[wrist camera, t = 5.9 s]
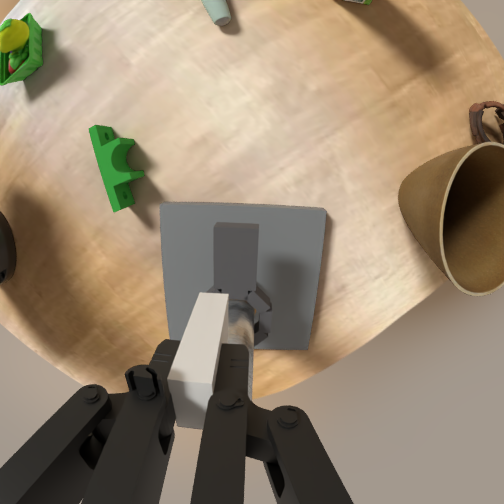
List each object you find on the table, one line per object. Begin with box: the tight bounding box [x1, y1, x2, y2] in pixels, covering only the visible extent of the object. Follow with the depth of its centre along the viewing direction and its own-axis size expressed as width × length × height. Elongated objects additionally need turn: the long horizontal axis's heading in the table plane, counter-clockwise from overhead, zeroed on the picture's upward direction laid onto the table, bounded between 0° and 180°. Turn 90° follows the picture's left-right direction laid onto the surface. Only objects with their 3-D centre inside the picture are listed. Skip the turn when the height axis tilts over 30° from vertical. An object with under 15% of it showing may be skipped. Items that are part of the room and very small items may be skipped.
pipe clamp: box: [89, 125, 145, 212], centre depth 32 cm, size 11×4×5 cm, turn 17°
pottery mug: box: [469, 101, 504, 145], centre depth 28 cm, size 12×10×8 cm
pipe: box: [228, 299, 256, 401], centre depth 27 cm, size 4×4×20 cm
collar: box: [205, 222, 272, 347], centre depth 28 cm, size 7×13×2 cm, turn 178°
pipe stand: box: [160, 202, 327, 350], centre depth 38 cm, size 20×20×2 cm
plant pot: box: [398, 142, 504, 296], centre depth 27 cm, size 15×15×16 cm
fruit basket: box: [0, 13, 43, 86], centre depth 22 cm, size 11×9×11 cm
